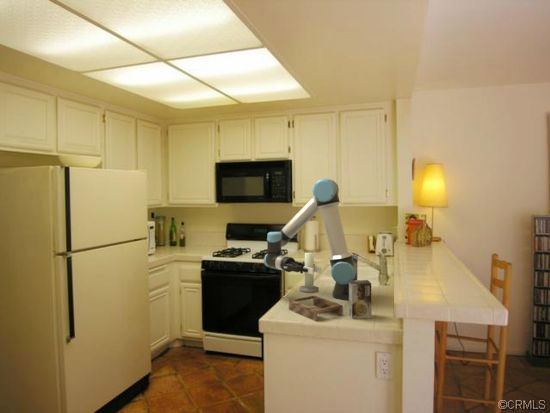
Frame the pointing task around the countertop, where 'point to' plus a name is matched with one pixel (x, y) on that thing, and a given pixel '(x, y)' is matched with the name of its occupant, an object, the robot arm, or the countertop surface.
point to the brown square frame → (314, 307)
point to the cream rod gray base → (309, 276)
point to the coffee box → (360, 299)
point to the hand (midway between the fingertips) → (316, 270)
